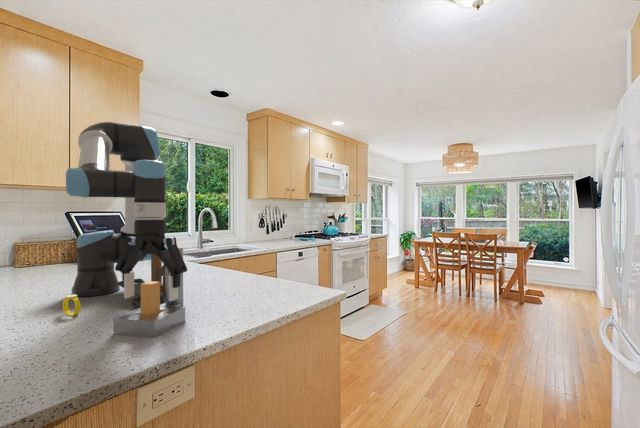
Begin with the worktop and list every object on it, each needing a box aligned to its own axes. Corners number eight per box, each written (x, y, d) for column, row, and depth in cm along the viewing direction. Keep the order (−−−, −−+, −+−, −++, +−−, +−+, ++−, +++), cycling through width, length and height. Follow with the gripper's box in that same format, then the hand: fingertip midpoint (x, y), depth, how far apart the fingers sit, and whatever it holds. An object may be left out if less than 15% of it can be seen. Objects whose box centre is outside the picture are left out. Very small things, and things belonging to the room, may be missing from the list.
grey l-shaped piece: (162, 311, 98) (162, 247, 98) (197, 314, 96) (197, 247, 95) (113, 334, 81) (112, 255, 80) (154, 337, 78) (153, 256, 78)
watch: (82, 315, 96) (83, 296, 96) (73, 318, 93) (73, 298, 93) (69, 312, 98) (70, 292, 98) (59, 314, 95) (60, 295, 95)
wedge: (149, 324, 87) (149, 281, 87) (159, 325, 86) (159, 281, 86) (140, 329, 84) (140, 283, 84) (151, 330, 83) (151, 284, 83)
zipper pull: (142, 277, 118) (175, 287, 102) (142, 295, 118) (175, 308, 102) (114, 281, 111) (146, 293, 95) (115, 300, 111) (146, 315, 95)
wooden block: (169, 296, 116) (169, 247, 116) (148, 293, 120) (148, 245, 120) (177, 293, 119) (177, 246, 119) (157, 291, 124) (156, 244, 123)
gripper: (99, 219, 84) (99, 299, 84) (182, 219, 79) (183, 305, 79) (122, 218, 91) (123, 292, 91) (200, 218, 86) (201, 297, 86)
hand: (151, 298), depth 85 cm, fingers open, 13 cm apart
